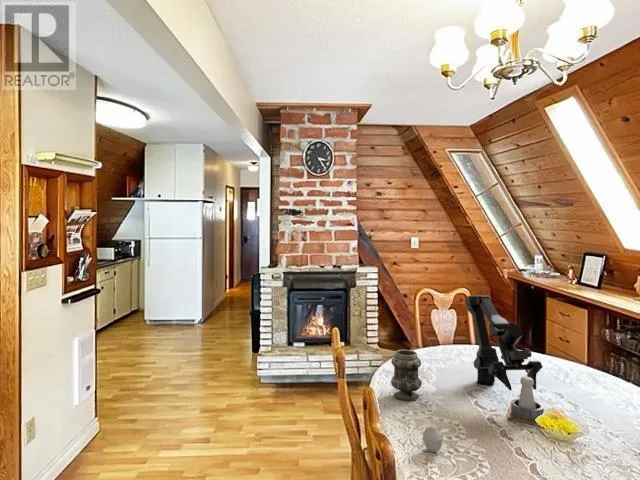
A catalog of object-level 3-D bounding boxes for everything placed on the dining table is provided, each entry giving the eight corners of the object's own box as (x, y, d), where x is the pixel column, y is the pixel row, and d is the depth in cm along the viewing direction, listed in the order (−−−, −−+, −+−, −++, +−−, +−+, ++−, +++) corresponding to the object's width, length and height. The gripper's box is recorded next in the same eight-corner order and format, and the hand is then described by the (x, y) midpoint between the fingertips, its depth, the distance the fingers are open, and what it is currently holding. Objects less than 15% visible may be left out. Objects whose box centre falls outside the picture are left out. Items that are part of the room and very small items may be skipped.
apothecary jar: (424, 393, 176) (424, 350, 175) (417, 404, 165) (417, 358, 164) (395, 389, 181) (395, 346, 180) (387, 399, 170) (387, 354, 170)
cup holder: (507, 419, 151) (507, 407, 151) (510, 407, 162) (510, 395, 162) (545, 427, 145) (545, 414, 145) (546, 413, 156) (546, 401, 156)
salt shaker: (534, 418, 150) (534, 381, 149) (516, 414, 153) (516, 378, 153) (536, 412, 154) (537, 377, 154) (519, 409, 158) (519, 374, 157)
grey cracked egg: (439, 444, 135) (439, 422, 134) (446, 456, 128) (446, 433, 127) (419, 444, 134) (419, 422, 134) (426, 456, 127) (426, 433, 127)
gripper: (491, 340, 160) (506, 380, 150) (540, 339, 161) (557, 379, 151) (482, 355, 168) (495, 393, 158) (528, 354, 170) (544, 392, 159)
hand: (523, 389), depth 156 cm, fingers open, 9 cm apart
